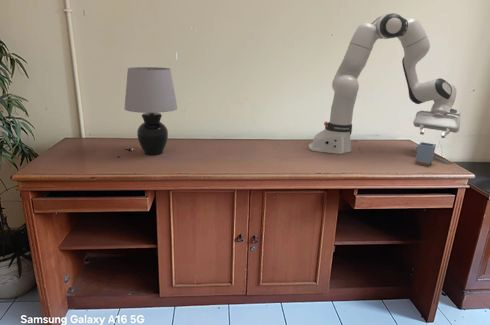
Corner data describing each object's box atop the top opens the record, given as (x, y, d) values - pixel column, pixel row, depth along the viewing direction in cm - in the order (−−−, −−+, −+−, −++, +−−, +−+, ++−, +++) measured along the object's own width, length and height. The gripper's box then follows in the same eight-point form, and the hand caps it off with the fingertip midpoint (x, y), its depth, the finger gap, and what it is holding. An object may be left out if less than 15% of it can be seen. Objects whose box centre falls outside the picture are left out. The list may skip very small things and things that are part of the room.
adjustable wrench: (449, 164, 171) (450, 161, 171) (436, 164, 171) (437, 161, 170) (420, 149, 195) (420, 146, 194) (409, 149, 194) (409, 146, 194)
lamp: (125, 161, 159) (118, 69, 147) (130, 147, 182) (124, 66, 169) (179, 159, 164) (176, 70, 152) (177, 145, 187) (175, 67, 174)
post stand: (428, 166, 165) (431, 154, 163) (415, 164, 169) (417, 151, 167) (431, 163, 170) (433, 151, 168) (417, 161, 173) (420, 149, 171)
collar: (429, 163, 165) (433, 147, 162) (415, 160, 168) (418, 144, 166) (432, 160, 170) (435, 144, 167) (418, 157, 173) (421, 142, 171)
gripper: (417, 106, 180) (409, 128, 176) (463, 111, 168) (455, 135, 164) (417, 114, 185) (409, 135, 180) (462, 119, 173) (455, 142, 169)
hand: (432, 135), depth 172 cm, fingers open, 8 cm apart
